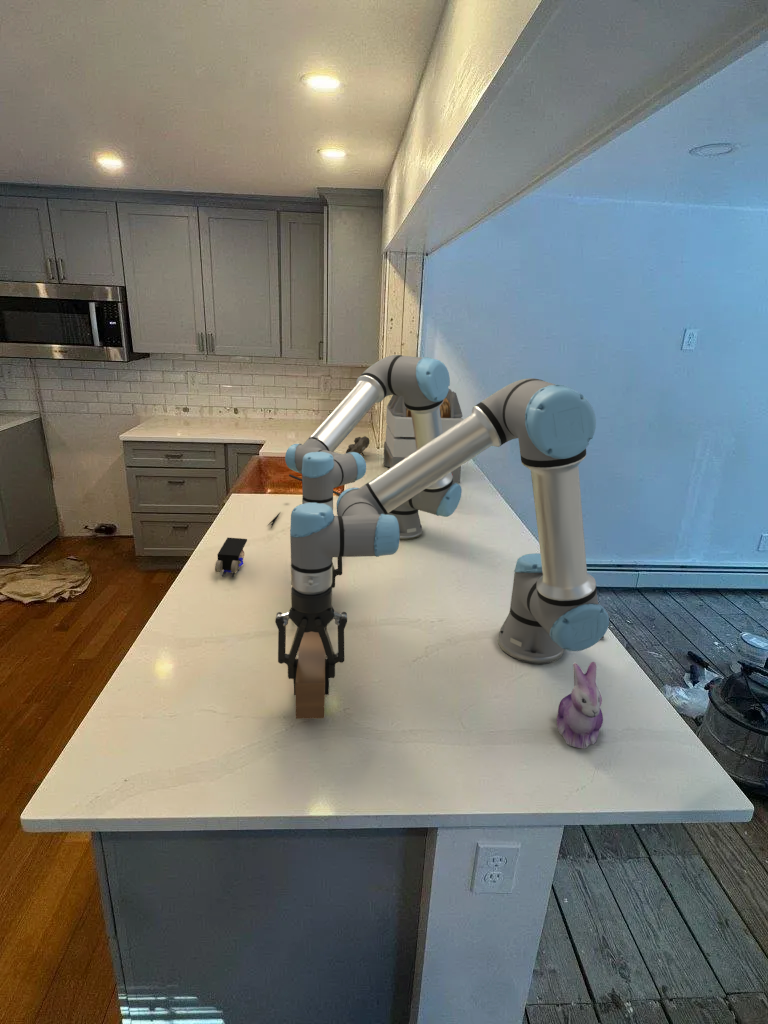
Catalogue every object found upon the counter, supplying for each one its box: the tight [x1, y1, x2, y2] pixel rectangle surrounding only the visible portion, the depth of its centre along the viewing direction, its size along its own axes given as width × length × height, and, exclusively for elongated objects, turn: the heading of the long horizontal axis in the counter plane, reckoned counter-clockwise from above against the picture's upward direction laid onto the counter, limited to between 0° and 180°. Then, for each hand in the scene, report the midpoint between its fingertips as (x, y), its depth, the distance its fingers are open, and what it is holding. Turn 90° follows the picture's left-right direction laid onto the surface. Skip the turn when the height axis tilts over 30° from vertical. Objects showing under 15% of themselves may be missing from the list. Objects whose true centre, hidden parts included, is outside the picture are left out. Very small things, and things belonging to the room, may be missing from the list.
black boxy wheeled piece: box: [214, 537, 248, 578], centre depth 166 cm, size 7×8×15 cm
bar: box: [294, 625, 328, 720], centre depth 129 cm, size 53×5×8 cm, turn 5°
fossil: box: [345, 436, 370, 457], centre depth 300 cm, size 22×10×15 cm
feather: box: [266, 512, 281, 529], centre depth 211 cm, size 2×28×2 cm
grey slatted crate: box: [383, 388, 465, 484], centre depth 268 cm, size 34×33×41 cm
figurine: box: [556, 661, 604, 749], centre depth 106 cm, size 9×10×15 cm
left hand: (317, 597), depth 148 cm, fingers closed on bar, 5 cm apart
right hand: (311, 690), depth 113 cm, fingers closed on bar, 5 cm apart
